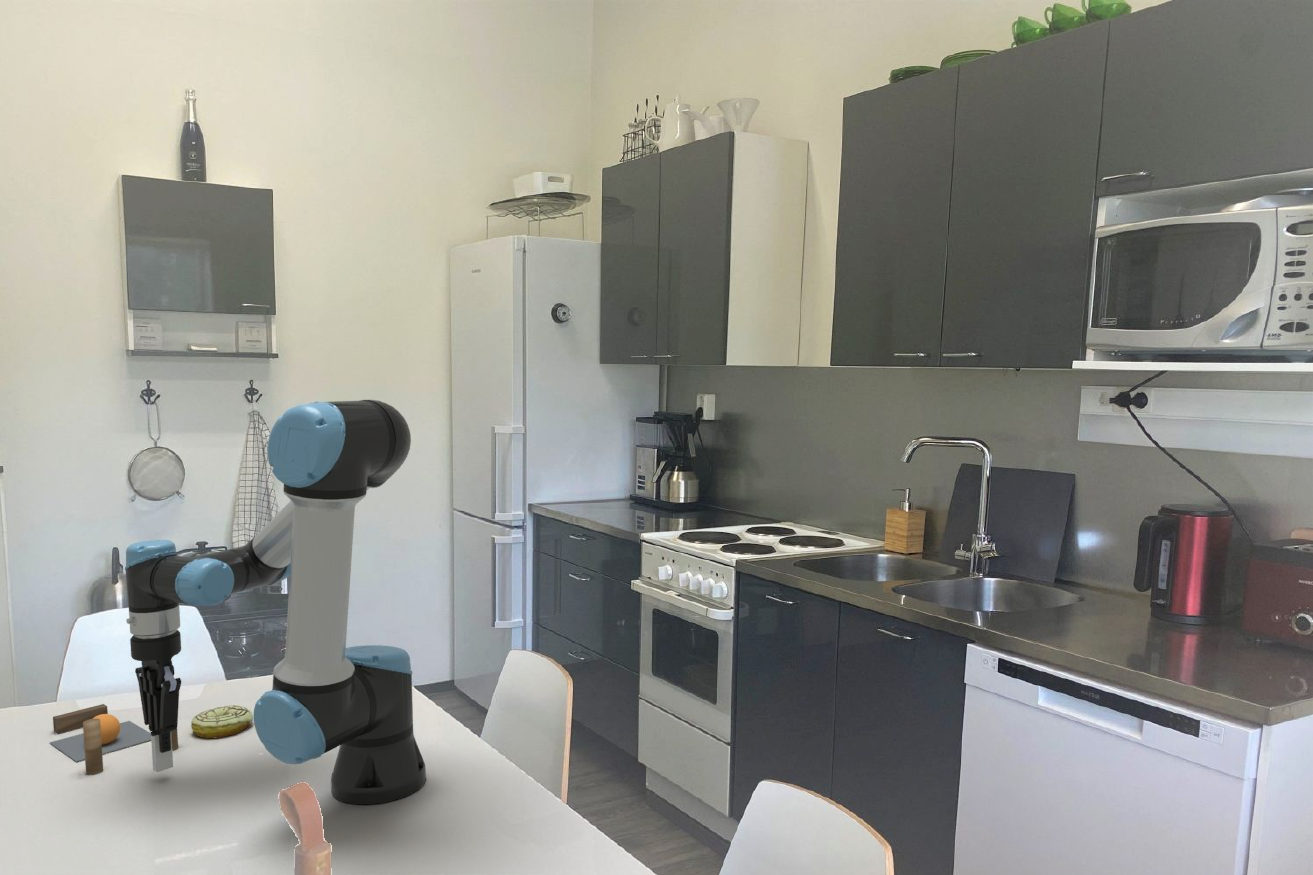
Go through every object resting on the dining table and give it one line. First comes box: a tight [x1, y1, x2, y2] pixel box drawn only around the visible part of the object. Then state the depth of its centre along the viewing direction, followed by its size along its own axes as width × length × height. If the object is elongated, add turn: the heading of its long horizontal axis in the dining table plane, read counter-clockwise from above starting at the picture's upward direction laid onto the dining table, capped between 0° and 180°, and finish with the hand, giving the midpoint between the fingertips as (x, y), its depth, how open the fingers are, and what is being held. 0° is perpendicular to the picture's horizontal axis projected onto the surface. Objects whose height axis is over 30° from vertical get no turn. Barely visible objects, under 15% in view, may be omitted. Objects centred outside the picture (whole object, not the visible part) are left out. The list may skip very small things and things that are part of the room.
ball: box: [93, 713, 121, 745], centre depth 178 cm, size 6×6×6 cm
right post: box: [171, 728, 179, 752], centre depth 175 cm, size 3×3×9 cm
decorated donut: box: [190, 704, 254, 739], centre depth 184 cm, size 10×11×4 cm
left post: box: [82, 719, 104, 776], centre depth 165 cm, size 3×3×9 cm
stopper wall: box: [52, 703, 109, 735], centre depth 187 cm, size 2×9×3 cm, turn 139°
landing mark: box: [49, 720, 151, 763], centre depth 180 cm, size 14×14×1 cm
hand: (163, 768), depth 162 cm, fingers closed
